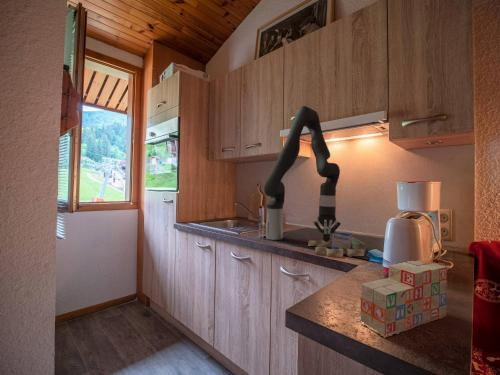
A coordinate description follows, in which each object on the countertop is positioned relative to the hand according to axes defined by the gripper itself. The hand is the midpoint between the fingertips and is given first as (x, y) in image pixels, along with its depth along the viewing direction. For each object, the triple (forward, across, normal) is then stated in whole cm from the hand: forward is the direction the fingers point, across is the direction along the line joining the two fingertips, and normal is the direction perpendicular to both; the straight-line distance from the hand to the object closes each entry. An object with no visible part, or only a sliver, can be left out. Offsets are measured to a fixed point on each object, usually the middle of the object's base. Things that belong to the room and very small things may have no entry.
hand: (326, 241), depth 116 cm
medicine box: (+4, -7, 0) cm, 9 cm away
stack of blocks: (+4, +1, +59) cm, 60 cm away
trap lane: (+4, -4, +2) cm, 6 cm away
